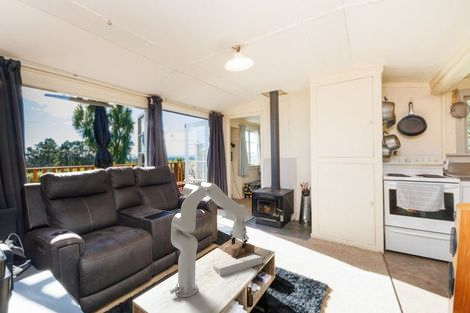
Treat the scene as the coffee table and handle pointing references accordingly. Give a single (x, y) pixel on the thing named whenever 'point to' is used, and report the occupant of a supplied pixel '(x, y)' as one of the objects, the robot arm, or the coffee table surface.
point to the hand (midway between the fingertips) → (238, 246)
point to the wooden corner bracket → (239, 250)
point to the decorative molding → (238, 264)
